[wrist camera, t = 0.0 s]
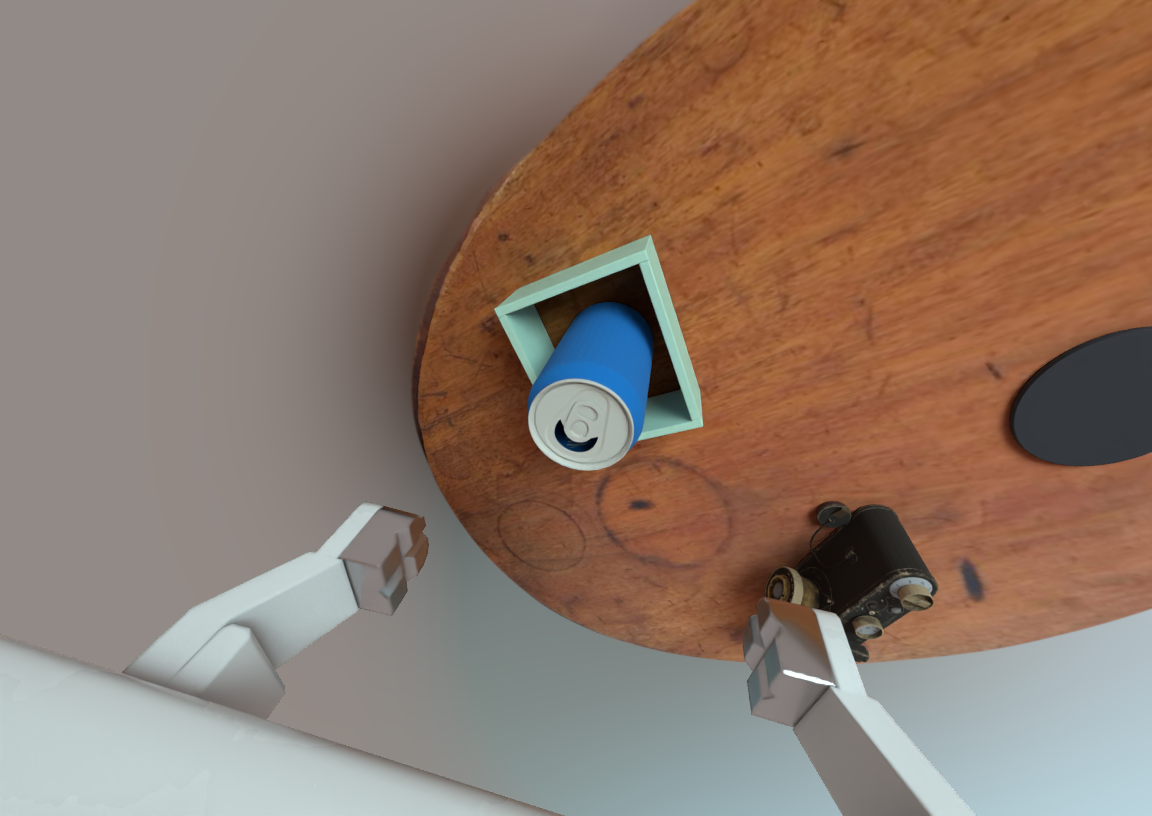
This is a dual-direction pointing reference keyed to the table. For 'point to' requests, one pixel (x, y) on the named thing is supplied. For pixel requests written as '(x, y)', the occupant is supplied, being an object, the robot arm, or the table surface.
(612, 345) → the beverage can
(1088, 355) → the coaster
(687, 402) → the box frame
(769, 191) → the table surface
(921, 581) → the camera
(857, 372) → the table surface
